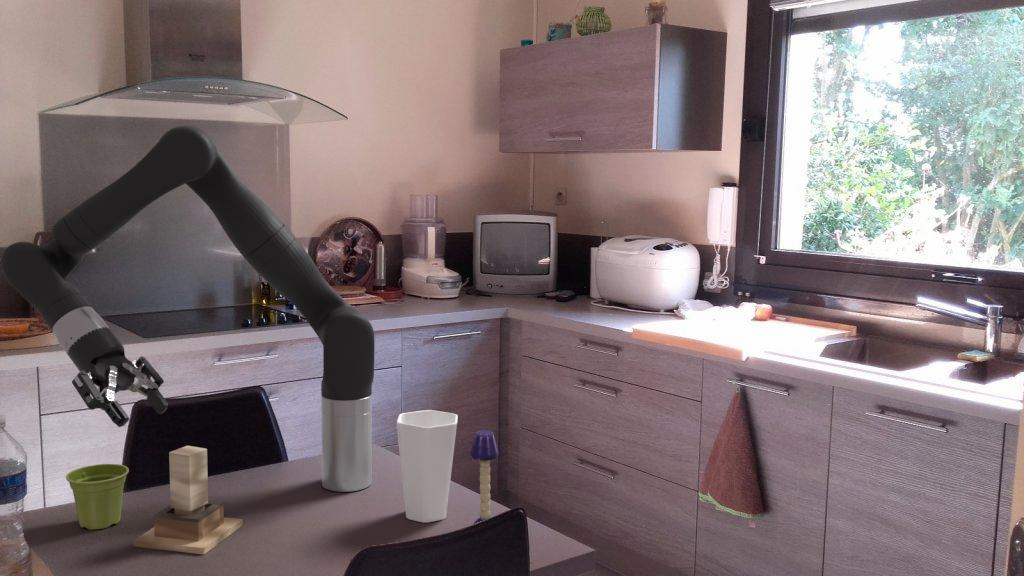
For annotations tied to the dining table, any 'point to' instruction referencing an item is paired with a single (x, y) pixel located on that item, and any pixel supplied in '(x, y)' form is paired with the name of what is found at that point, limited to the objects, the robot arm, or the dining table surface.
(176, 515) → the board
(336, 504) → the dining table surface
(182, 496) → the leg peg
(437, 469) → the cup
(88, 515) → the plant pot
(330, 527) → the dining table surface
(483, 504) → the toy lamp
